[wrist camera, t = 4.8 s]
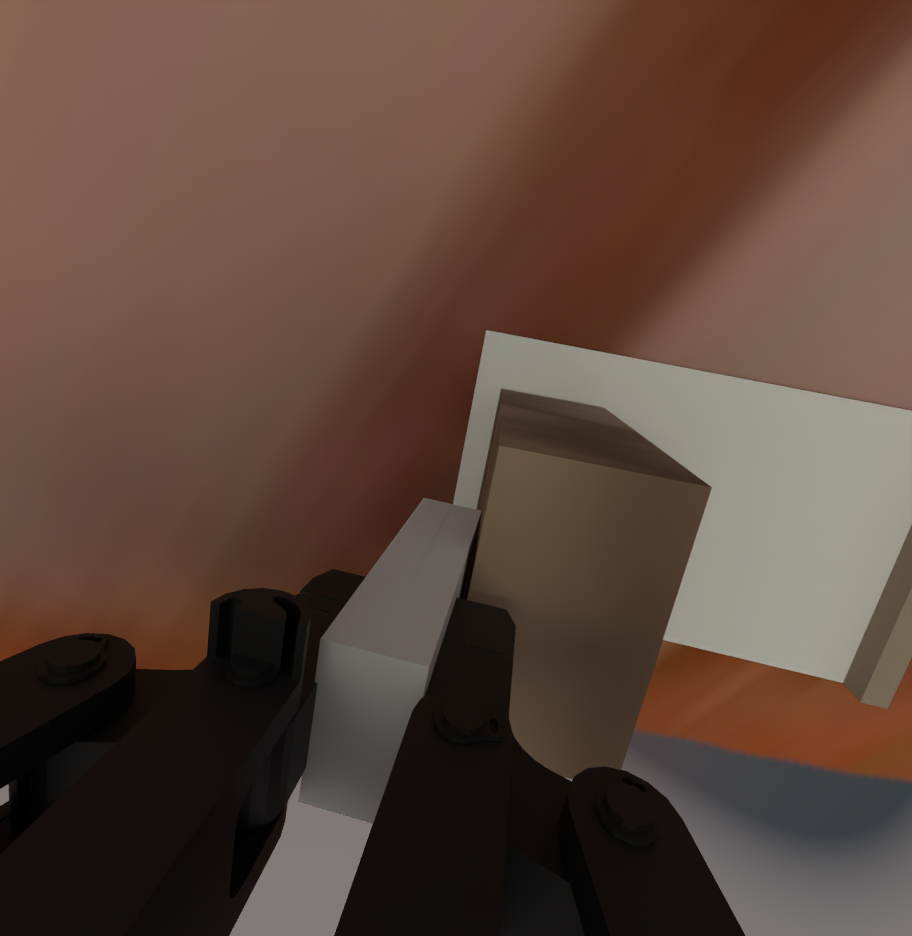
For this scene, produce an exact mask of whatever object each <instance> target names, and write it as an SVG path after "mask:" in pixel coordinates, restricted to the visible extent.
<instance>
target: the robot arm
mask: <svg viewBox="0 0 912 936" xmlns="http://www.w3.org/2000/svg"><path fill="white" fill-rule="evenodd" d="M481 512H482V511H480V510H476V509H472V508H467V507H463V506H458V505H454V504H450V503H445V502H441V501H436V500H432V499H428V498H423V500H422V501H421V502H420V504H419V505H418V506H417V508H416V509H415V510H414V512H413V513H412V515H411V516H410V517H409V519H408V520H407V521H406V523H405V524H404V525H403V527H402V528H401V530H400V531H399V532H398V534H397V535H396V536H395V538H394V539H393V540H392V542H391V543H390V545H389V546H388V547H387V549H386V550H385V551H384V553H383V554H382V556H381V557H380V558H379V560H378V561H377V562H376V564H375V565H374V566H373V568H372V569H371V571H370V572H369V573H368V575H367V576H366V577H363V576H359V575H355V574H351V573H347V572H343V571H339V570H335V569H333V570H330V571H328V572H326V573H323V574H321V575H319V576H316V577H314V578H313V579H312V580H311V581H310V582H309V583H308V584H307V585H306V586H305V587H304V588H303V589H302V590H301V592H300V594H297V595H296V596H295V595H292V594H289V593H287V592H284V591H280V590H273V589H266V588H257V589H243V590H239V591H235V592H231V593H227V594H224V595H223V596H221V597H219V598H217V599H215V600H213V601H212V602H211V609H210V623H209V637H208V650H207V657H206V658H205V659H204V660H203V661H202V662H201V663H200V664H199V665H198V666H197V667H195V668H194V669H193V670H150V669H136V656H135V649H134V647H133V646H132V645H130V644H129V643H128V642H127V641H126V640H125V639H122V638H119V637H116V636H112V635H109V634H94V633H85V634H78V635H71V636H64V637H60V638H57V639H54V640H51V641H48V642H45V643H42V644H39V645H37V646H34V647H32V648H30V649H28V650H25V651H23V652H21V653H18V654H16V655H14V656H12V657H9V658H7V659H5V660H2V661H0V789H1V788H2V787H4V786H6V785H7V784H9V801H8V802H6V803H4V804H3V805H1V806H0V936H229V935H230V933H231V931H232V929H233V927H234V925H235V923H236V921H237V919H238V918H239V916H240V913H241V912H242V910H243V908H244V906H245V904H246V902H247V900H248V898H249V896H250V894H251V892H252V891H253V888H254V886H255V885H256V883H257V881H258V879H259V877H260V875H261V873H262V871H263V869H264V867H265V865H266V864H267V861H268V860H269V858H270V856H271V854H272V852H273V850H274V848H275V846H276V844H277V842H278V840H279V838H280V837H281V833H282V830H283V826H284V823H285V818H286V810H287V803H288V799H289V798H290V796H291V794H292V792H293V790H294V788H295V787H296V785H297V783H298V781H299V779H300V777H301V776H302V780H301V787H300V795H299V802H302V803H305V804H309V805H312V806H316V807H319V808H322V809H326V810H329V811H333V812H336V813H339V814H343V815H346V816H349V817H353V818H357V819H360V820H363V821H367V822H370V823H373V825H372V828H371V831H370V834H369V837H368V840H367V843H366V846H365V848H364V852H363V854H362V857H361V860H360V863H359V866H358V869H357V872H356V875H355V877H354V880H353V883H352V886H351V889H350V892H349V895H348V898H347V901H346V903H345V906H344V909H343V912H342V915H341V918H340V921H339V924H338V927H337V929H336V932H335V935H334V936H745V934H744V932H743V930H742V929H741V927H740V925H739V923H738V921H737V920H736V918H735V916H734V914H733V912H732V910H731V908H730V907H729V905H728V903H727V901H726V899H725V897H724V895H723V893H722V892H721V890H720V888H719V886H718V884H717V882H716V881H715V879H714V877H713V875H712V873H711V871H710V869H709V868H708V866H707V864H706V862H705V860H704V858H703V857H702V855H701V853H700V851H699V849H698V847H697V846H696V844H695V842H694V840H693V838H692V836H691V834H690V832H689V831H688V829H687V827H686V825H685V823H684V822H683V820H682V818H681V817H680V816H679V814H678V813H677V811H676V810H675V808H674V807H673V806H672V805H671V803H670V802H669V800H668V799H667V798H666V797H665V796H664V795H662V794H661V793H660V792H659V791H658V790H656V789H655V788H654V787H653V786H652V785H650V784H649V783H648V782H646V781H644V780H642V779H641V778H639V777H637V776H635V775H632V774H631V773H629V772H627V771H623V770H619V769H615V768H611V767H607V766H603V767H592V768H587V769H585V770H583V771H582V772H580V773H579V774H577V775H576V776H574V778H573V780H572V782H571V781H569V780H567V779H566V778H564V777H562V776H560V775H558V774H557V773H555V772H553V771H551V770H549V769H548V768H546V767H545V766H543V765H542V764H540V763H539V762H537V761H536V760H534V759H533V758H532V757H531V756H530V755H529V754H528V753H527V752H526V751H525V750H524V749H523V748H522V747H521V745H520V744H519V743H518V741H517V740H516V738H515V737H514V735H513V732H512V729H511V724H510V721H509V708H510V696H511V683H512V671H513V657H514V644H515V633H516V625H515V623H514V622H513V620H512V618H511V616H510V615H509V613H508V611H507V610H506V609H502V608H498V607H494V606H490V605H486V604H482V603H478V602H473V601H469V600H465V599H463V598H464V593H465V588H466V583H467V579H468V574H469V569H470V564H471V559H472V555H473V550H474V545H475V540H476V536H477V531H478V526H479V521H480V517H481Z"/></svg>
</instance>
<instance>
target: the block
mask: <svg viewBox="0 0 912 936" xmlns="http://www.w3.org/2000/svg"><path fill="white" fill-rule="evenodd" d="M711 489H712V487H711V486H709V485H708V484H707V483H705V482H704V481H703V480H701V479H700V478H699V477H697V476H696V475H695V474H693V473H692V472H690V471H689V470H688V469H686V468H685V467H684V466H682V465H681V464H680V463H678V462H677V461H676V460H674V459H673V458H672V457H670V456H669V455H667V454H666V453H665V452H663V451H662V450H661V449H659V448H658V447H657V446H655V445H654V444H653V443H651V442H650V441H649V440H647V439H646V438H644V437H643V436H642V435H640V434H639V433H638V432H636V431H635V430H634V429H632V428H631V427H630V426H628V425H627V424H626V423H624V422H623V421H621V420H620V419H619V418H617V417H616V416H615V415H613V414H612V413H611V412H609V411H608V410H607V409H605V408H604V407H600V406H595V405H590V404H585V403H580V402H574V401H569V400H564V399H559V398H554V397H549V396H543V395H538V394H533V393H528V392H523V391H518V390H512V389H507V388H502V387H501V390H500V395H499V400H498V405H497V410H496V415H495V419H494V424H493V429H492V434H491V439H490V444H489V449H488V454H487V459H486V464H485V468H484V473H483V478H482V483H481V488H480V493H479V498H478V503H477V508H476V510H480V511H482V512H481V517H480V521H479V526H478V531H477V536H476V540H475V545H474V550H473V555H472V559H471V564H470V569H469V574H468V579H467V583H466V588H465V593H464V598H463V599H465V600H469V601H473V602H478V603H482V604H486V605H490V606H494V607H498V608H502V609H506V610H507V611H508V613H509V615H510V616H511V618H512V620H513V622H514V623H515V625H516V633H515V644H514V657H513V671H512V683H511V696H510V708H509V721H510V724H511V729H512V732H513V735H514V737H515V738H516V740H517V741H518V743H519V744H520V745H521V747H522V748H523V749H524V750H525V751H526V752H527V753H528V754H529V755H530V756H531V757H532V758H533V759H534V760H536V761H537V762H539V763H540V764H542V765H543V766H545V767H546V768H548V769H549V770H551V771H553V772H555V773H557V774H558V775H560V776H562V777H567V778H571V779H573V778H574V776H576V775H577V774H579V773H580V772H582V771H583V770H585V769H587V768H592V767H603V766H607V767H611V768H615V769H619V770H621V768H622V764H623V761H624V758H625V755H626V752H627V749H628V746H629V743H630V740H631V737H632V733H633V730H634V727H635V724H636V721H637V718H638V715H639V712H640V709H641V706H642V703H643V699H644V696H645V693H646V690H647V687H648V684H649V681H650V678H651V675H652V672H653V668H654V665H655V662H656V659H657V656H658V653H659V650H660V647H661V644H662V641H663V637H664V634H665V631H666V628H667V625H668V622H669V619H670V616H671V613H672V610H673V607H674V603H675V600H676V597H677V594H678V591H679V588H680V585H681V582H682V579H683V576H684V572H685V569H686V566H687V563H688V560H689V557H690V554H691V551H692V548H693V545H694V542H695V538H696V535H697V532H698V529H699V526H700V523H701V520H702V517H703V514H704V511H705V507H706V504H707V501H708V498H709V495H710V492H711Z"/></svg>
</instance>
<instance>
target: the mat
mask: <svg viewBox="0 0 912 936" xmlns="http://www.w3.org/2000/svg"><path fill="white" fill-rule="evenodd" d="M501 387H502V388H507V389H512V390H518V391H523V392H528V393H533V394H538V395H543V396H549V397H554V398H559V399H564V400H569V401H574V402H580V403H585V404H590V405H595V406H600V407H604V408H605V409H607V410H608V411H609V412H611V413H612V414H613V415H615V416H616V417H617V418H619V419H620V420H621V421H623V422H624V423H626V424H627V425H628V426H630V427H631V428H632V429H634V430H635V431H636V432H638V433H639V434H640V435H642V436H643V437H644V438H646V439H647V440H649V441H650V442H651V443H653V444H654V445H655V446H657V447H658V448H659V449H661V450H662V451H663V452H665V453H666V454H667V455H669V456H670V457H672V458H673V459H674V460H676V461H677V462H678V463H680V464H681V465H682V466H684V467H685V468H686V469H688V470H689V471H690V472H692V473H693V474H695V475H696V476H697V477H699V478H700V479H701V480H703V481H704V482H705V483H707V484H708V485H709V486H711V487H712V489H711V492H710V495H709V498H708V501H707V504H706V507H705V511H704V514H703V517H702V520H701V523H700V526H699V529H698V532H697V535H696V538H695V542H694V545H693V548H692V551H691V554H690V557H689V560H688V563H687V566H686V569H685V572H684V576H683V579H682V582H681V585H680V588H679V591H678V594H677V597H676V600H675V603H674V607H673V610H672V613H671V616H670V619H669V622H668V625H667V628H666V631H665V634H664V637H663V640H666V641H670V642H674V643H678V644H683V645H687V646H691V647H695V648H699V649H703V650H708V651H712V652H716V653H720V654H724V655H728V656H733V657H737V658H741V659H745V660H749V661H754V662H758V663H762V664H766V665H770V666H774V667H779V668H783V669H787V670H791V671H795V672H799V673H804V674H808V675H812V676H816V677H820V678H824V679H829V680H833V681H837V682H841V683H843V684H844V685H845V686H846V687H847V688H848V689H849V690H850V691H851V693H852V694H853V695H854V696H855V697H856V698H857V699H858V700H859V702H861V703H865V704H869V705H873V706H878V707H882V708H886V709H888V707H889V705H890V703H891V700H892V698H893V696H894V694H895V692H896V690H897V688H898V685H899V683H900V681H901V679H902V677H903V675H904V673H905V670H906V668H907V666H908V664H909V662H910V660H911V658H912V411H910V410H905V409H900V408H894V407H889V406H884V405H878V404H873V403H868V402H863V401H857V400H852V399H847V398H842V397H836V396H831V395H826V394H820V393H815V392H810V391H805V390H799V389H794V388H789V387H784V386H778V385H773V384H768V383H762V382H757V381H752V380H747V379H741V378H736V377H731V376H726V375H720V374H715V373H710V372H705V371H699V370H694V369H689V368H683V367H678V366H673V365H668V364H662V363H657V362H652V361H647V360H641V359H636V358H631V357H625V356H620V355H615V354H610V353H604V352H599V351H594V350H589V349H583V348H578V347H573V346H567V345H562V344H557V343H552V342H546V341H541V340H536V339H531V338H525V337H520V336H515V335H509V334H504V333H499V332H494V331H488V330H486V334H485V339H484V345H483V350H482V355H481V360H480V365H479V371H478V376H477V381H476V386H475V392H474V397H473V402H472V407H471V412H470V418H469V423H468V428H467V433H466V438H465V444H464V449H463V454H462V459H461V465H460V470H459V475H458V480H457V485H456V491H455V496H454V501H453V504H454V505H458V506H463V507H467V508H472V509H476V508H477V503H478V498H479V493H480V488H481V483H482V478H483V473H484V468H485V464H486V459H487V454H488V449H489V444H490V439H491V434H492V429H493V424H494V419H495V415H496V410H497V405H498V400H499V395H500V390H501Z"/></svg>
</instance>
